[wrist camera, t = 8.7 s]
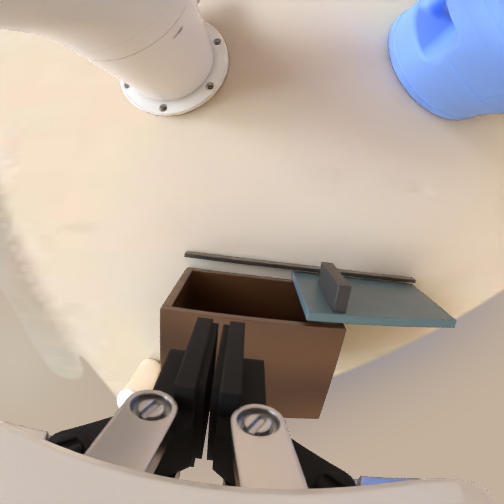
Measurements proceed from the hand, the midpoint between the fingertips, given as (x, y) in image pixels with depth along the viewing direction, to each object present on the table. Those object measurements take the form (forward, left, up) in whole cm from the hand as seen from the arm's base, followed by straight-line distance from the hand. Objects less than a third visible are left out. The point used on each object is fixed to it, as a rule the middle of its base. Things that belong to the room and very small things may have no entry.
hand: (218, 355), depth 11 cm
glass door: (+3, +14, -25) cm, 28 cm away
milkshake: (+20, -10, -25) cm, 34 cm away
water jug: (-25, +22, -25) cm, 42 cm away
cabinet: (+10, +8, -25) cm, 28 cm away
